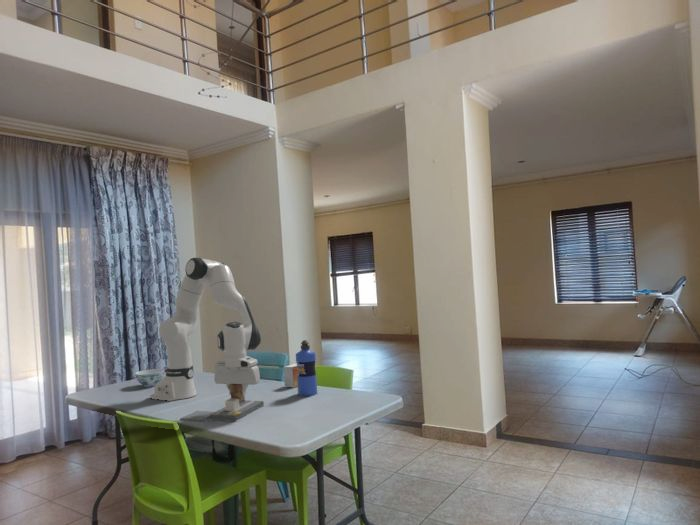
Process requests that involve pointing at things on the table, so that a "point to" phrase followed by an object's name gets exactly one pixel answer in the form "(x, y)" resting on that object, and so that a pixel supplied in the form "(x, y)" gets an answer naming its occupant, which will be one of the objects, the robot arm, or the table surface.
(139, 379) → the chinaware
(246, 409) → the switch panel
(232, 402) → the switch tab
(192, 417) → the mat
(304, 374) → the water bottle
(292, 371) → the small box
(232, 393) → the wooden block
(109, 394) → the table surface
